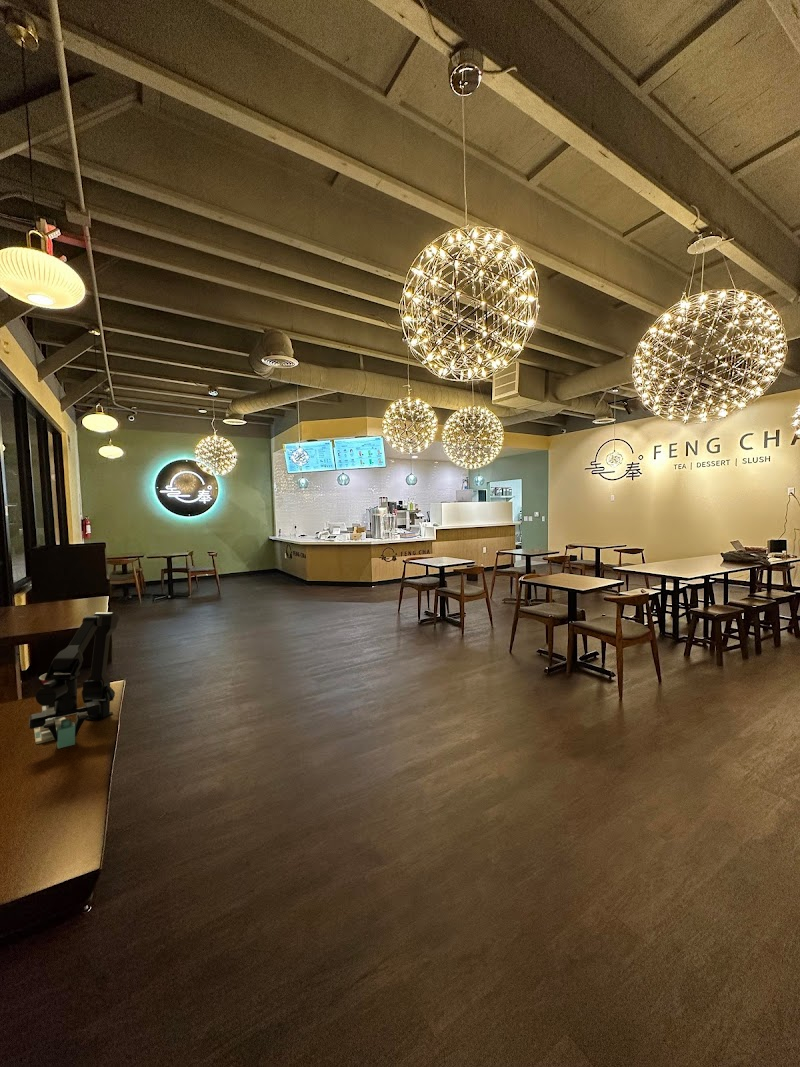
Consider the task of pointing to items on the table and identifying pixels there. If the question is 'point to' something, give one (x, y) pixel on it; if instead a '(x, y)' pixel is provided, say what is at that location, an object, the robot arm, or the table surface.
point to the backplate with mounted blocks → (45, 732)
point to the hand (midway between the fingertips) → (65, 739)
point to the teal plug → (66, 733)
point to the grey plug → (48, 710)
